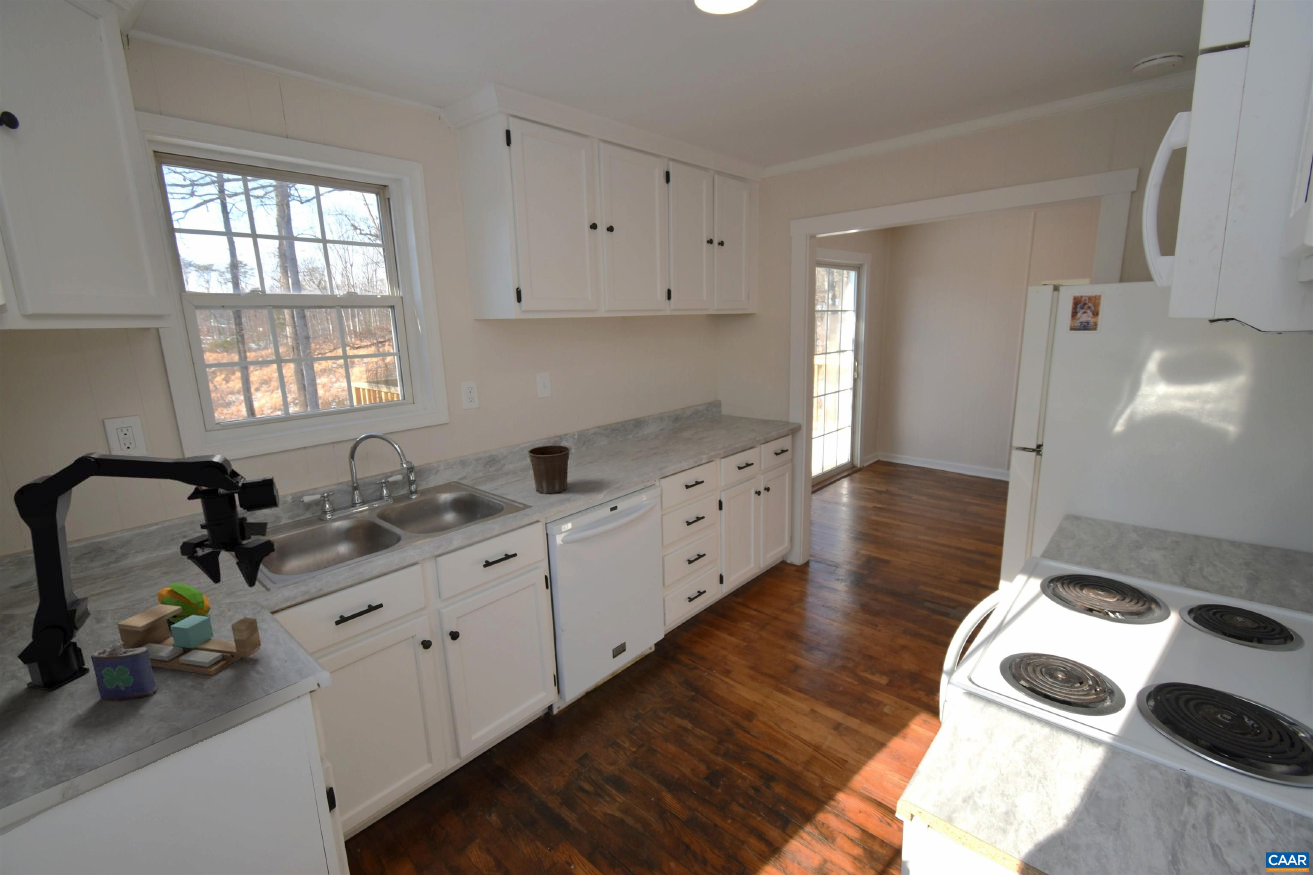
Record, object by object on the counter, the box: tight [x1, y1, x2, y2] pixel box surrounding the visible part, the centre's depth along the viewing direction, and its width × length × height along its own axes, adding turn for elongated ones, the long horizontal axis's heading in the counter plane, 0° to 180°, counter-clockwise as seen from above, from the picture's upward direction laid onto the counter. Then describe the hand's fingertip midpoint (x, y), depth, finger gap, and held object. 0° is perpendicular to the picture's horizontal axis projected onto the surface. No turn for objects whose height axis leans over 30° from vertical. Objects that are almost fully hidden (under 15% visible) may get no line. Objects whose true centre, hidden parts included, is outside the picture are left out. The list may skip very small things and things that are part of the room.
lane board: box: [117, 603, 242, 676], centre depth 116 cm, size 8×22×9 cm, turn 77°
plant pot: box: [527, 445, 571, 495], centre depth 223 cm, size 16×16×16 cm
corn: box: [157, 583, 211, 624], centre depth 133 cm, size 7×8×20 cm
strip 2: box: [172, 616, 262, 659], centre depth 117 cm, size 3×19×7 cm, turn 77°
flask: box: [90, 640, 158, 702], centre depth 104 cm, size 9×3×11 cm, turn 95°
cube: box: [170, 615, 214, 648], centre depth 118 cm, size 4×4×4 cm
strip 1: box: [140, 643, 222, 667], centre depth 115 cm, size 3×19×1 cm, turn 77°
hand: (234, 584), depth 122 cm, fingers open, 9 cm apart
